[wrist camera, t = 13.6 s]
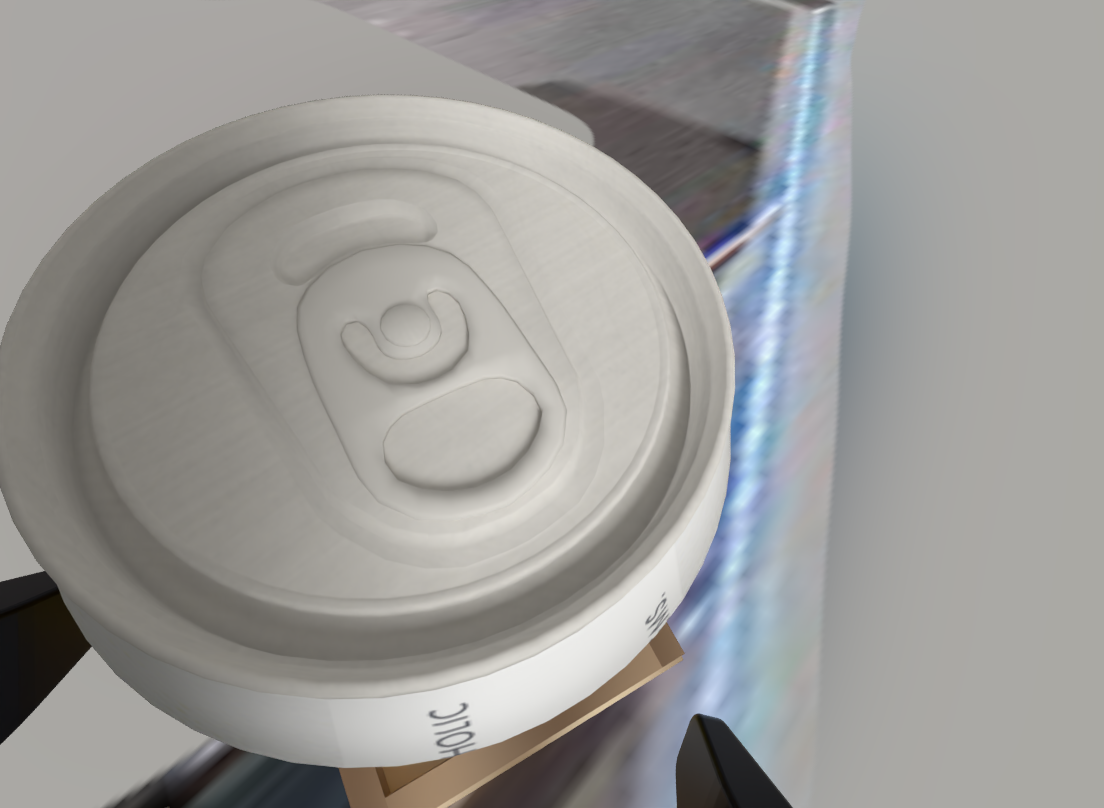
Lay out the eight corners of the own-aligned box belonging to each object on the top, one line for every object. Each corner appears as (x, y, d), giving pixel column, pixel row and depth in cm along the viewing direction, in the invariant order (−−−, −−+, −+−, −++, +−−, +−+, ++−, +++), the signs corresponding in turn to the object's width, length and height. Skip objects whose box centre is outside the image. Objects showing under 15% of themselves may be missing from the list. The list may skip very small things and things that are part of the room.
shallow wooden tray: (374, 847, 15) (359, 866, 13) (273, 525, 19) (250, 504, 17) (672, 662, 18) (693, 656, 16) (534, 416, 22) (539, 388, 20)
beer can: (502, 485, 19) (538, 20, 6) (597, 649, 17) (953, 455, 4) (330, 574, 17) (-130, 166, 4) (413, 772, 15) (-10, 1142, 2)
